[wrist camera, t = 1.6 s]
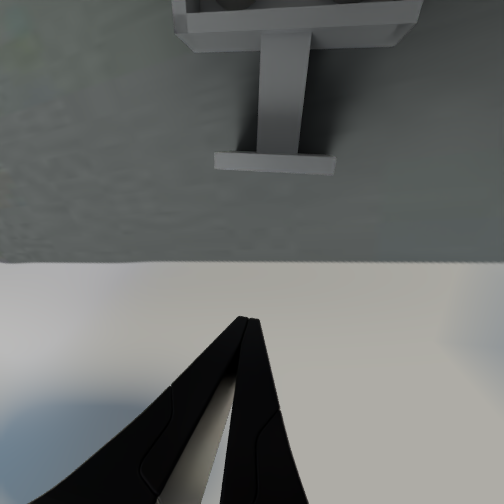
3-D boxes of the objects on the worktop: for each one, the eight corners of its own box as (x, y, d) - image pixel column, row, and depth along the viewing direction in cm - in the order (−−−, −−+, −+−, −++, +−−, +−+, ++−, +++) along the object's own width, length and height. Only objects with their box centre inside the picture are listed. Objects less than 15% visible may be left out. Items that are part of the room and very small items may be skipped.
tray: (444, -156, 8) (575, -423, 4) (362, 169, 14) (389, 178, 10) (183, -116, 10) (111, -283, 6) (202, 161, 15) (170, 166, 11)
